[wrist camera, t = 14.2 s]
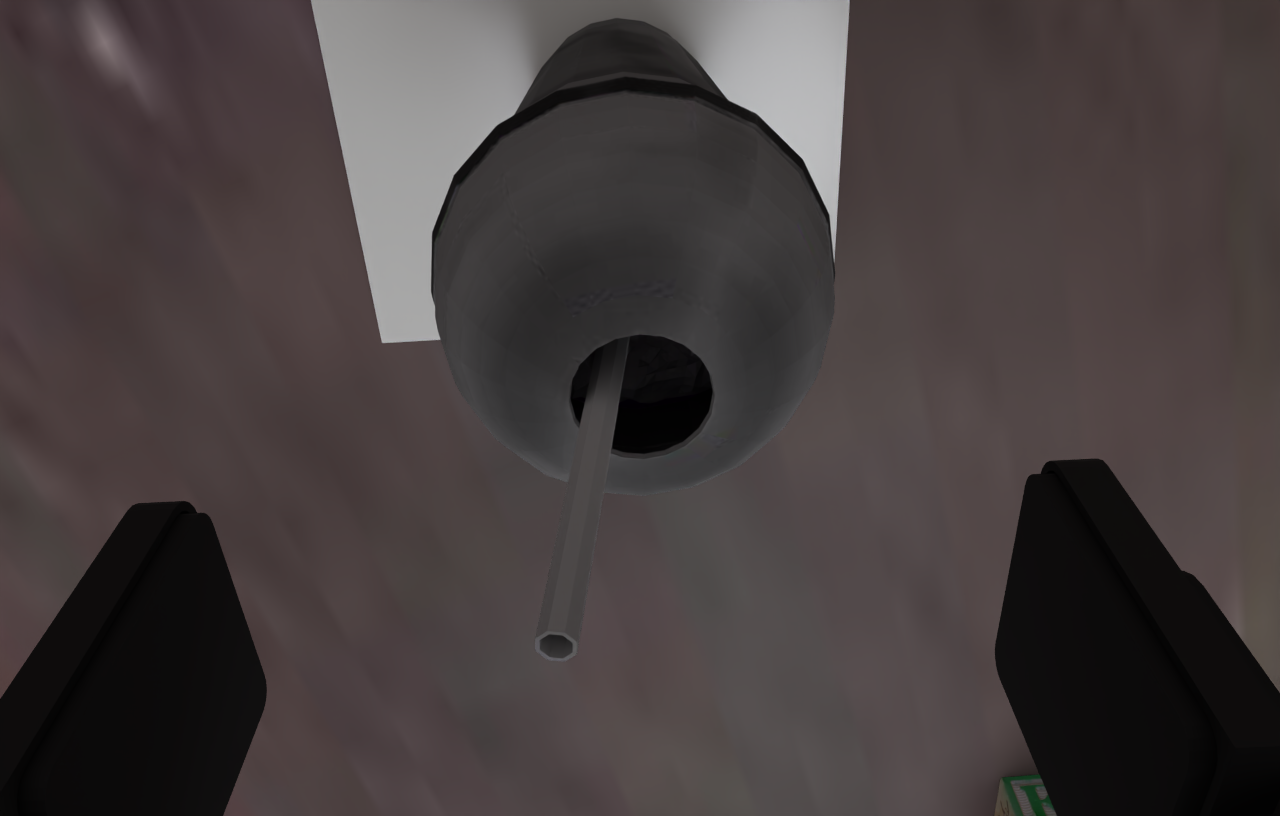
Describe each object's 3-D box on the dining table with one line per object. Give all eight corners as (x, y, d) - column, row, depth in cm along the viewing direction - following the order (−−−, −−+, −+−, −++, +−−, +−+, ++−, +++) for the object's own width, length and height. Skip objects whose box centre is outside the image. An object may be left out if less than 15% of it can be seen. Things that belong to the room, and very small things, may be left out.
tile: (852, -208, 25) (861, -208, 24) (825, 302, 33) (831, 316, 32) (285, -177, 25) (274, -175, 24) (387, 328, 33) (382, 343, 32)
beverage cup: (783, 178, 29) (1038, 741, 12) (549, 262, 30) (490, 881, 14) (705, -84, 26) (919, 209, 9) (441, 22, 27) (175, 464, 10)
